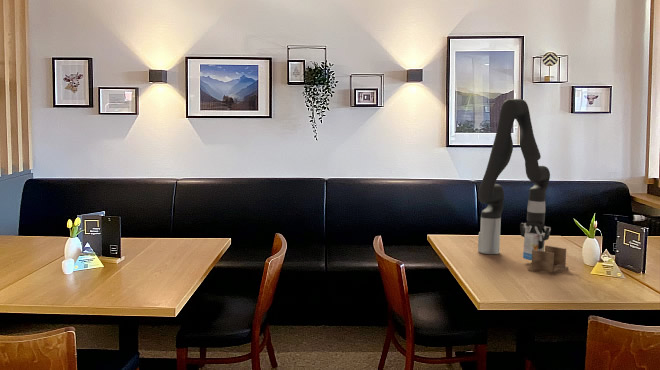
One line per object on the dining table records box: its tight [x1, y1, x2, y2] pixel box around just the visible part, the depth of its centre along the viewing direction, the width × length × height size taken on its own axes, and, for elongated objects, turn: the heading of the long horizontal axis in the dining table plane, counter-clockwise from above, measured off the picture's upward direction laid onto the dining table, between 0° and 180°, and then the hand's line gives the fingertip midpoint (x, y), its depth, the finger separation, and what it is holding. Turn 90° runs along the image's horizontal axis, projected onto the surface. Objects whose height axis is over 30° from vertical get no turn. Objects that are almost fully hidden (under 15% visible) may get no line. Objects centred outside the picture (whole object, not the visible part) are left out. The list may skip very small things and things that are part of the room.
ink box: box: [522, 226, 546, 262], centre depth 268 cm, size 8×5×15 cm, turn 124°
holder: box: [527, 245, 569, 276], centre depth 257 cm, size 11×15×9 cm
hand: (533, 247), depth 269 cm, fingers closed on ink box, 5 cm apart
